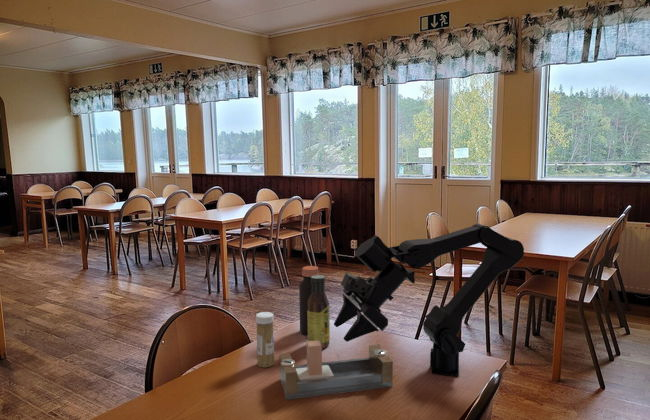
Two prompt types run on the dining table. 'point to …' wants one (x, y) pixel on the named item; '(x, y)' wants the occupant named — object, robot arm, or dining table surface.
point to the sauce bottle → (318, 312)
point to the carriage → (314, 364)
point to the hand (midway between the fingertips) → (339, 332)
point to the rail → (339, 375)
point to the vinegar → (305, 295)
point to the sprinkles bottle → (265, 339)
